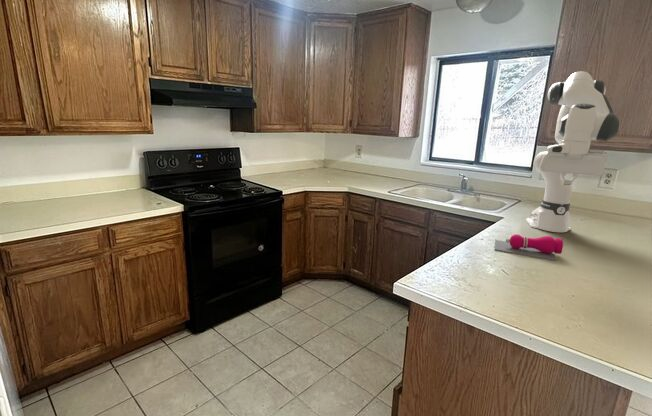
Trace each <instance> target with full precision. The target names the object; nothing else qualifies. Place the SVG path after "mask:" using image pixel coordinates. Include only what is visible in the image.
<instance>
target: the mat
mask: <svg viewBox="0 0 652 416" xmlns="http://www.w3.org/2000/svg"><path fill="white" fill-rule="evenodd" d="M494 251H496V252H502V253H507V254H513V255H520V256H524V257H529V258H536V259H541V260H545V261H552V262H557V257H556V253H555V252H553V253H551V254H546V253H543V252H541V251H539V250H537V249H534V248H526V249H525V248H522V247H521V248H519V249H515V248H513V247H511V245H510V242H509V243H507V242H506V240H504V241H503V240H498V239H495V243H494Z"/></svg>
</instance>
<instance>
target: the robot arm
mask: <svg viewBox="0 0 652 416" xmlns="http://www.w3.org/2000/svg"><path fill="white" fill-rule="evenodd" d="M606 90H607V89H606V85H605V82H604V80H599V79H593V77H592V75H591V74H590V73H589V72H587V71H584V70H583V71H582V70H579V71H575V72H574V73H572V74H570V76H569V77H568V78H566V80H565V81H558V82H555V83H553V84H552V85H551V86H550V87H549V89H548V92H547V99H548V103H549V104H550V105H554V106H558V105H559V106H561V107H560V108H559V113H558V115H557V120H556V126H555V133H554V139H555V141H556V143H555V144H553V145H552V144H551V145H548V146H547V147H546V150H545V151H540V152H538V153H537V155H536V156H535V157H534V159H533V165H534V168H535V170H536V171H537V172H539V174H540V175H541V176H542V178H543V180H544V183H545V187H544V188H545V189H544V196H543V198H542V199H541V201H540V206H538V207H537V208H536V209H534V210H533V211H532V212H530V214H529V216H530V217H526V218H525V222H527V224H528V225H529V226H530V227H531V228H534V229H540V230H543V231H546V232H553V233H566V232H569V231H571V229H572V228H571V227H570V219H571V213H569V211H570V208H571V203H570V202H571V197H572V193H573V187H572V184H573V182H574V181H575V180H576V178H578V176H593V177H594V176H596V177H597V176H598V177H601V176H602V175H603V174H604V173H605V172H604V170H605V162H607V160H608V155H609V154H608V153H607V152H605V151H604V150H601V149H600V150H598V149H597V150H596V149H590V148H591V142H592V141H599V142H608V141H609V140H612V139H613V138H615V137H616V136H617V134H619V130H620V119H619V118H618V116H617V115H616V114H615V112H614V110H613V109H612V106H611V104H610V101H609V99H608V97H607V95H606ZM567 175H569V176H572V177H571V179H566V178H565V176H567Z"/></svg>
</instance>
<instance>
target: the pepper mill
mask: <svg viewBox="0 0 652 416" xmlns="http://www.w3.org/2000/svg"><path fill="white" fill-rule="evenodd" d="M505 242H507V243H509V242H510V245H511V247H513V248H515V249H519V248H521V247H522V248H525V249H526V248H534V249H537V250H539V251H541V252H543V253H546V254H551V253H553V252H554V254H555V255H556V254H557V255H561V254H562V253H563V248H564V241H563V238H559V237H557V238H554V237H553V236H550V235H546V236H541V237H536V238H535V237H528V236H525V235H524V236H522V235H520V234H513V235H511V237H510V238H506V239H505Z"/></svg>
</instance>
